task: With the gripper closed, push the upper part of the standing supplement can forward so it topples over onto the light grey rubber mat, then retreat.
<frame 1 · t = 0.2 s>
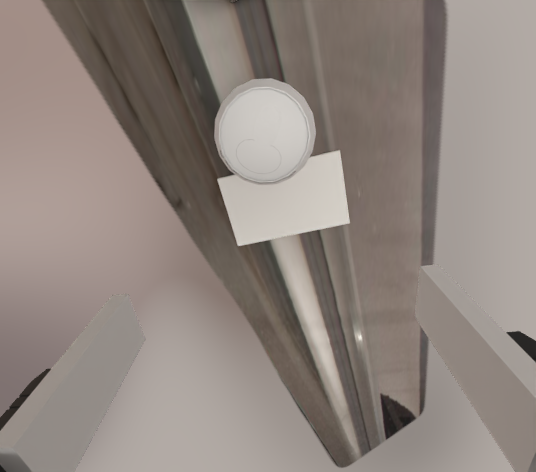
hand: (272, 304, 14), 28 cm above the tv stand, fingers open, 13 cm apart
mat: (285, 200, 40), on the tv stand
supplement can: (268, 123, 36), on the tv stand
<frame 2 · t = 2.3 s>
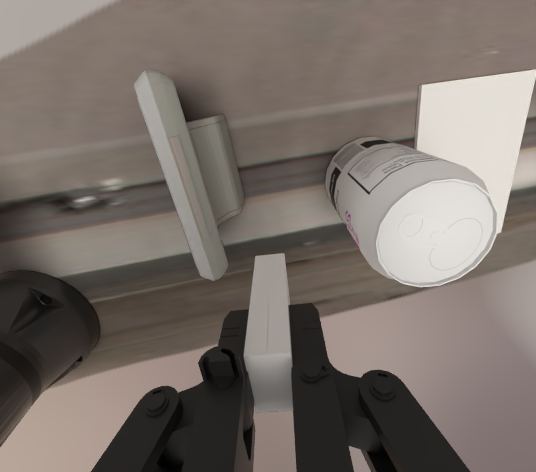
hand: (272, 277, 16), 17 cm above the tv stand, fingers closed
mat: (461, 165, 30), on the tv stand
digital clock: (197, 166, 31), on the tv stand
supplement can: (362, 176, 31), on the tv stand
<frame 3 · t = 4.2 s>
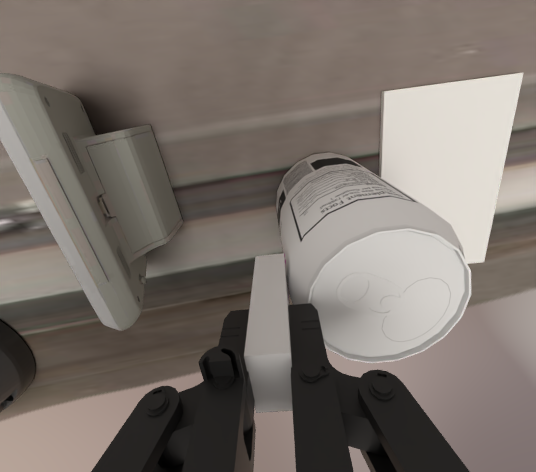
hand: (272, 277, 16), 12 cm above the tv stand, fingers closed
mat: (436, 185, 26), on the tv stand
digital clock: (125, 184, 26), on the tv stand
supplement can: (321, 197, 26), on the tv stand, touching gripper
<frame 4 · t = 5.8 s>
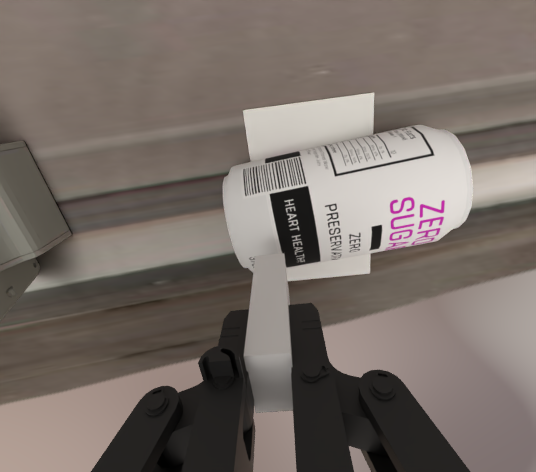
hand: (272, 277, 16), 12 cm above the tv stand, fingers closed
mat: (312, 199, 26), on the tv stand
digital clock: (11, 197, 27), on the tv stand
supplement can: (234, 222, 22), point 5 cm above the tv stand, touching mat
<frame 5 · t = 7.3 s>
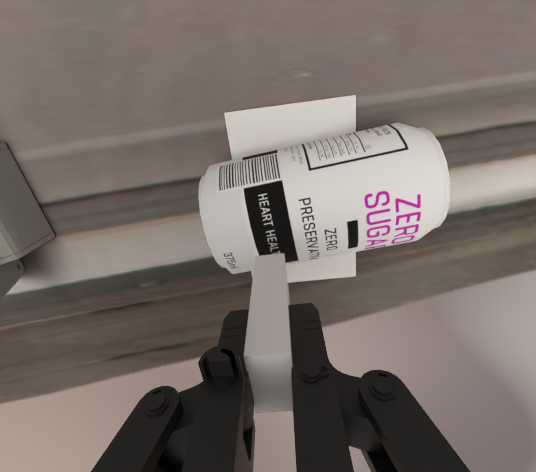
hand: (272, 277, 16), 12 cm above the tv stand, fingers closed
mat: (297, 201, 26), on the tv stand
supplement can: (213, 222, 22), point 5 cm above the tv stand, touching mat
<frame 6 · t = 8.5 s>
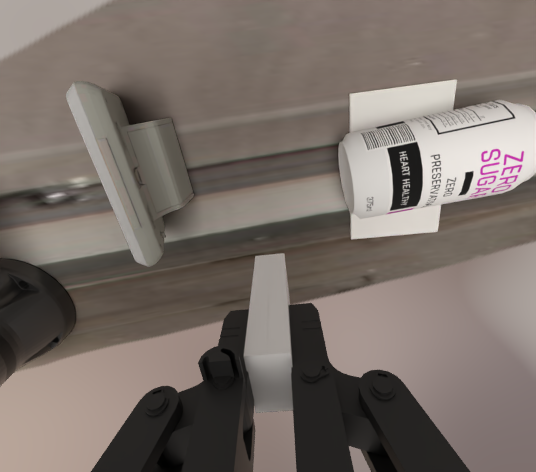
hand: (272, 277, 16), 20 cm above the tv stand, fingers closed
mat: (395, 167, 33), on the tv stand
digital clock: (150, 164, 34), on the tv stand
supplement can: (343, 179, 29), point 5 cm above the tv stand, touching mat
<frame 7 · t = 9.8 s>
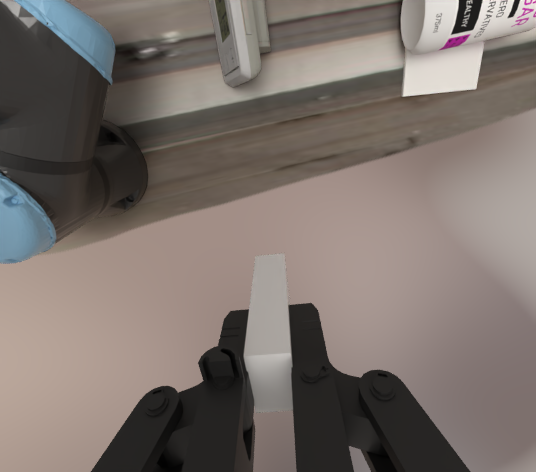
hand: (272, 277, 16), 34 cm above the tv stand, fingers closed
mat: (445, 25, 39), on the tv stand
digital clock: (235, 19, 39), on the tv stand
supplement can: (409, 16, 35), point 5 cm above the tv stand, touching mat
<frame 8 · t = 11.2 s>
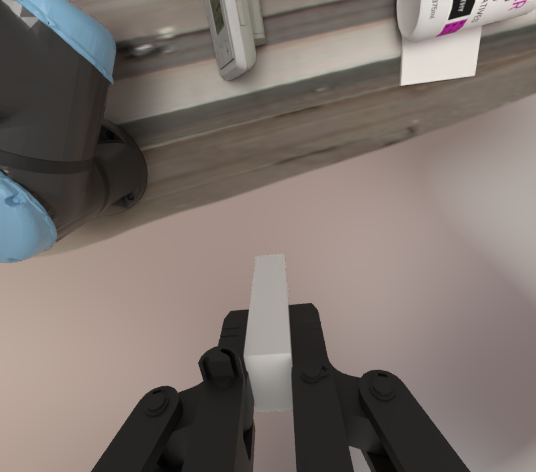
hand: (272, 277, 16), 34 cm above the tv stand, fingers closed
mat: (442, 12, 39), on the tv stand
digital clock: (229, 12, 39), on the tv stand
supplement can: (405, 3, 35), point 5 cm above the tv stand, touching mat
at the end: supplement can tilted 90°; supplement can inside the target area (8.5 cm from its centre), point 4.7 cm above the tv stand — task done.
